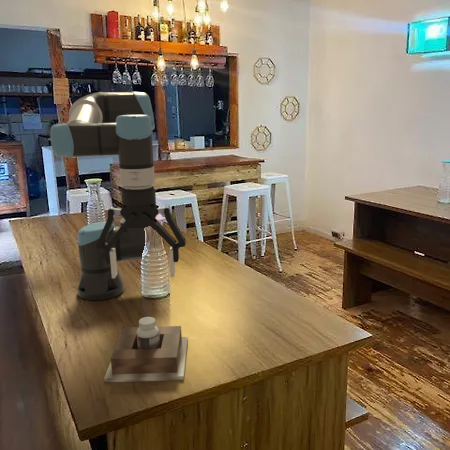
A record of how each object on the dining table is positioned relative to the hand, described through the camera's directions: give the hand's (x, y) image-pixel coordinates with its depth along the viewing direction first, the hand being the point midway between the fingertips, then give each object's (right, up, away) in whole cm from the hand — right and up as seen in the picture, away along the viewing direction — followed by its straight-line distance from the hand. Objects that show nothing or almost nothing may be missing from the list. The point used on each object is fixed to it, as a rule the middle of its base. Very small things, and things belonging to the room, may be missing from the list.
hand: (143, 275), depth 106 cm
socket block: (0, -21, +6) cm, 22 cm away
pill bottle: (0, -21, +5) cm, 21 cm away
